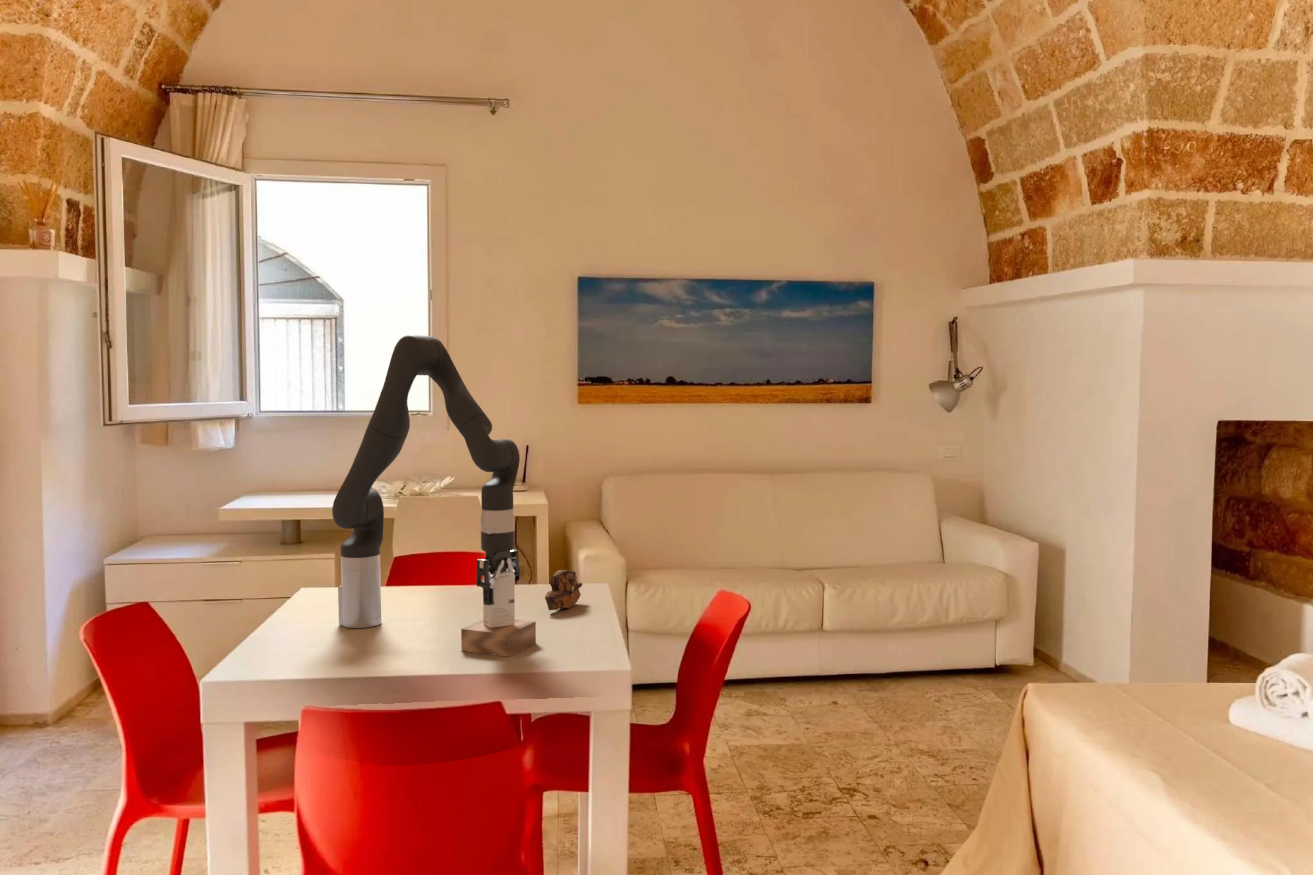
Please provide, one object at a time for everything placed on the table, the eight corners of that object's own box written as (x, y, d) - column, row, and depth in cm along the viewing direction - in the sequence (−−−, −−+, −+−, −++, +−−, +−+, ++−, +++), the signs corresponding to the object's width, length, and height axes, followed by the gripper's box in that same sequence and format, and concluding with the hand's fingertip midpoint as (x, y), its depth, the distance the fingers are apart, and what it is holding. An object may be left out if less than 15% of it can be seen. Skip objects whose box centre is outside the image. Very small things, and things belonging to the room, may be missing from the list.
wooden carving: (560, 616, 254) (560, 577, 253) (543, 615, 255) (543, 576, 254) (585, 602, 269) (585, 565, 269) (569, 601, 271) (569, 564, 270)
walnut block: (461, 651, 222) (461, 628, 222) (490, 637, 233) (490, 616, 233) (508, 656, 218) (508, 634, 217) (535, 643, 229) (535, 621, 228)
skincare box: (490, 628, 222) (490, 574, 221) (482, 624, 225) (481, 571, 225) (516, 624, 225) (515, 571, 224) (507, 620, 229) (506, 568, 228)
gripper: (499, 523, 232) (500, 592, 233) (465, 532, 218) (466, 606, 219) (528, 525, 229) (529, 595, 230) (495, 534, 216) (496, 609, 217)
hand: (498, 600), depth 225 cm, fingers open, 8 cm apart
